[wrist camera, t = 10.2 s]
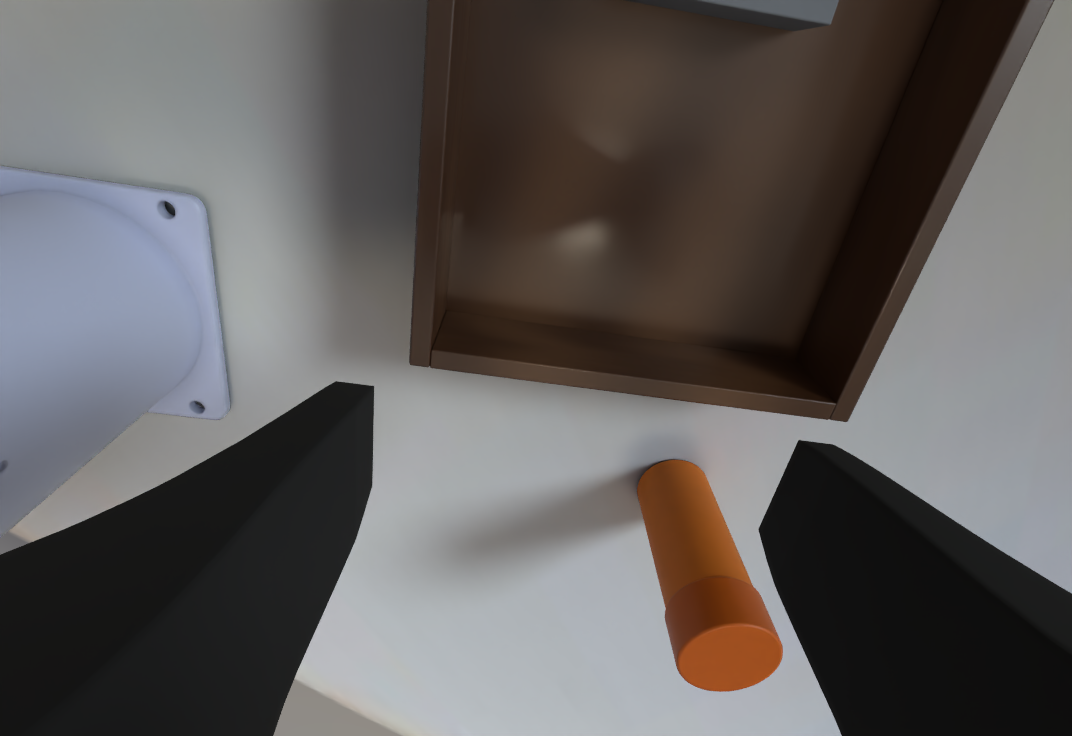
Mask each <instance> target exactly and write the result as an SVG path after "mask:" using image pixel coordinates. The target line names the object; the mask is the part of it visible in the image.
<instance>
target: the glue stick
mask: <svg viewBox="0 0 1072 736" xmlns="http://www.w3.org/2000/svg"><path fill="white" fill-rule="evenodd" d="M637 494H638V499H639V503H640V507H641V511H642V515H643V519H644V523H645V527H646V531H647V535H648V539H649V543H650V547H651V551H652V555H653V559H654V563H655V567H656V571H657V575H658V579H659V583H660V587H661V591H662V595H663V599H664V603H665V607H666V611H665V621H666V625H667V629H668V633H669V637H670V642H671V646H672V650H673V654H674V658H675V662H676V666H677V669H678V671H679V673H680V675H681V676H682V677H683V678H684V679H685V680H686V681H687V682H688V683H690V684H691V685H693V686H695V687H698V688H701V689H704V690H709V691H720V692H721V691H734V690H740V689H743V688H747V687H750V686H753V685H755V684H757V683H759V682H761V681H763V680H764V679H766V678H767V677H769V676H770V675H771V674H772V673H773V672H774V671H775V670H776V669H777V667H778V666H779V664H780V662H781V659H782V654H783V648H782V644H781V641H780V639H779V636H778V634H777V632H776V630H775V627H774V625H773V623H772V620H771V618H770V616H769V614H768V611H767V609H766V607H765V604H764V602H763V600H762V598H761V595H760V594H759V592H758V591H757V590H756V589H755V588H754V587H753V585H752V583H751V581H750V578H749V576H748V574H747V571H746V569H745V567H744V564H743V562H742V560H741V557H740V555H739V553H738V550H737V548H736V546H735V543H734V541H733V539H732V536H731V534H730V532H729V529H728V527H727V525H726V522H725V520H724V518H723V515H722V513H721V511H720V508H719V506H718V504H717V501H716V499H715V497H714V494H713V492H712V490H711V488H710V485H709V483H708V481H707V478H706V476H705V474H704V472H703V471H702V470H701V469H700V468H699V467H698V466H696V465H694V464H693V463H690V462H688V461H683V460H668V461H664V462H661V463H658V464H656V465H654V466H652V467H651V468H650V469H648V470H647V471H646V472H645V473H644V474H643V476H642V477H641V479H640V481H639V483H638V487H637Z"/></svg>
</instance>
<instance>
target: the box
mask: <svg viewBox="0 0 1072 736" xmlns="http://www.w3.org/2000/svg"><path fill="white" fill-rule="evenodd" d="M1053 2H1054V0H839V1H838V4H837V7H836V10H835V13H834V16H833V19H832V22H831V24H830V25H828V26H822V27H816V28H811V29H805V30H799V31H789V30H784V29H778V28H773V27H767V26H762V25H756V24H751V23H745V22H740V21H735V20H729V19H724V18H718V17H713V16H707V15H702V14H696V13H691V12H685V11H680V10H674V9H669V8H664V7H658V6H653V5H647V4H642V3H636V2H631V1H625V0H428V1H427V21H426V40H425V60H424V80H423V100H422V120H421V139H420V159H419V179H418V199H417V218H416V238H415V258H414V278H413V298H412V317H411V337H410V357H409V363H410V365H415V366H422V367H429V366H430V367H431V368H435V369H443V370H451V371H458V372H466V373H474V374H481V375H489V376H497V377H504V378H512V379H520V380H527V381H535V382H543V383H550V384H558V385H566V386H573V387H581V388H589V389H596V390H604V391H612V392H619V393H627V394H635V395H642V396H650V397H658V398H665V399H673V400H681V401H688V402H696V403H704V404H711V405H719V406H727V407H734V408H742V409H750V410H757V411H765V412H772V413H780V414H788V415H795V416H803V417H811V418H818V419H826V420H828V419H830V420H835V421H843V422H847V421H848V420H849V418H850V416H851V414H852V412H853V410H854V408H855V406H856V404H857V402H858V399H859V397H860V395H861V393H862V391H863V389H864V387H865V385H866V383H867V381H868V379H869V377H870V375H871V373H872V371H873V369H874V367H875V365H876V363H877V361H878V359H879V357H880V355H881V353H882V351H883V349H884V346H885V344H886V342H887V340H888V338H889V336H890V334H891V332H892V330H893V328H894V326H895V324H896V322H897V320H898V318H899V316H900V314H901V312H902V310H903V308H904V306H905V304H906V302H907V300H908V298H909V296H910V293H911V291H912V289H913V287H914V285H915V283H916V281H917V279H918V277H919V275H920V273H921V271H922V269H923V267H924V265H925V263H926V261H927V259H928V257H929V255H930V253H931V251H932V249H933V247H934V245H935V242H936V240H937V238H938V236H939V234H940V232H941V230H942V228H943V226H944V224H945V222H946V220H947V218H948V216H949V214H950V212H951V210H952V208H953V206H954V204H955V202H956V200H957V198H958V196H959V194H960V192H961V189H962V187H963V185H964V183H965V181H966V179H967V177H968V175H969V173H970V171H971V169H972V167H973V165H974V163H975V161H976V159H977V157H978V155H979V153H980V151H981V149H982V147H983V145H984V143H985V141H986V139H987V136H988V134H989V132H990V130H991V128H992V126H993V124H994V122H995V120H996V118H997V116H998V114H999V112H1000V110H1001V108H1002V106H1003V104H1004V102H1005V100H1006V98H1007V96H1008V94H1009V92H1010V90H1011V88H1012V85H1013V83H1014V81H1015V79H1016V77H1017V75H1018V73H1019V71H1020V69H1021V67H1022V65H1023V63H1024V61H1025V59H1026V57H1027V55H1028V53H1029V51H1030V49H1031V47H1032V45H1033V43H1034V41H1035V39H1036V37H1037V35H1038V32H1039V30H1040V28H1041V26H1042V24H1043V22H1044V20H1045V18H1046V16H1047V14H1048V12H1049V10H1050V8H1051V6H1052V4H1053Z"/></svg>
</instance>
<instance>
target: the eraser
mask: <svg viewBox="0 0 1072 736" xmlns="http://www.w3.org/2000/svg"><path fill="white" fill-rule="evenodd" d="M625 1H631V2H636V3H642V4H647V5H653V6H658V7H664V8H669V9H674V10H680V11H685V12H691V13H696V14H702V15H707V16H713V17H718V18H724V19H729V20H735V21H740V22H745V23H751V24H756V25H762V26H767V27H773V28H778V29H784V30H789V31H799V30H805V29H811V28H816V27H822V26H828V25H830V24H831V22H832V19H833V16H834V13H835V10H836V7H837V4H838V1H839V0H625Z"/></svg>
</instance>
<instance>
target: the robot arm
mask: <svg viewBox="0 0 1072 736" xmlns="http://www.w3.org/2000/svg"><path fill="white" fill-rule="evenodd" d="M165 202H169V203H170V204H171V205H172V206H173V207H174V209H175V211H176V213H175V216H174V215H171V214H170V213H169V212H168V211H167V210H166V208H165ZM196 401H198V402H200V403H201V404H203V405H204V408H203V407H200V406H199V405H197V403H196ZM230 406H231V405H230V397H229V389H228V381H227V373H226V364H225V356H224V348H223V340H222V332H221V324H220V316H219V307H218V299H217V291H216V283H215V275H214V267H213V258H212V250H211V242H210V234H209V226H208V218H207V211H206V208H205V206H204V204H203V203H202V202H201V200H200V199H198V198H197V197H196V196H194V195H191V194H188V193H181V192H175V191H168V190H161V189H154V188H148V187H141V186H134V185H127V184H121V183H114V182H107V181H101V180H94V179H87V178H80V177H74V176H67V175H60V174H53V173H47V172H40V171H33V170H26V169H20V168H13V167H6V166H0V538H1V537H2V536H3V535H4V534H5V533H7V532H8V531H9V530H10V529H11V528H12V527H14V526H15V525H16V524H17V523H18V522H19V521H21V520H22V519H23V518H24V517H25V516H26V515H27V514H29V513H30V512H31V511H32V510H33V509H34V508H36V507H37V506H38V505H39V504H40V503H41V502H42V501H44V500H45V499H46V498H47V497H48V496H49V495H51V494H52V493H53V492H54V491H55V490H56V489H58V488H59V487H60V486H61V485H62V484H63V483H64V482H66V481H67V480H68V479H69V478H70V477H71V476H73V475H74V474H75V473H76V472H77V471H78V470H80V469H81V468H82V467H83V466H84V465H85V464H86V463H88V462H89V461H90V460H91V459H92V458H93V457H95V456H96V455H97V454H98V453H99V452H100V451H101V450H103V449H104V448H105V447H106V446H107V445H108V444H110V443H111V442H112V441H113V440H114V439H115V438H117V437H118V436H119V435H120V434H121V433H122V432H123V431H125V430H126V429H127V428H128V427H129V426H130V425H132V424H133V423H134V422H135V421H136V420H137V419H139V418H140V417H141V416H142V415H143V414H144V413H145V412H151V413H160V414H168V415H176V416H185V417H193V418H201V419H210V420H220V419H222V418H224V417H225V416H226V414H227V413H228V412H229V411H230ZM373 415H374V386H368V385H361V384H353V383H345V382H337V381H336V382H334V383H332V384H331V385H329V386H327V387H325V388H324V389H322V390H321V391H319V392H317V393H316V394H314V395H313V396H311V397H310V398H308V399H306V400H305V401H303V402H302V403H300V404H299V405H297V406H296V407H294V408H292V409H291V410H289V411H288V412H286V413H285V414H283V415H281V416H280V417H278V418H277V419H275V420H273V421H272V422H270V423H269V424H267V425H265V426H264V427H262V428H260V429H259V430H257V431H256V432H254V433H252V434H251V435H249V436H248V437H246V438H244V439H243V440H241V441H239V442H238V443H236V444H234V445H232V446H230V447H229V448H227V449H225V450H223V451H221V452H220V453H218V454H216V455H214V456H212V457H211V458H209V459H207V460H205V461H203V462H202V463H200V464H198V465H196V466H194V467H193V468H191V469H189V470H187V471H185V472H184V473H182V474H180V475H178V476H177V477H175V478H173V479H171V480H169V481H167V482H165V483H163V484H161V485H159V486H157V487H155V488H153V489H151V490H149V491H147V492H145V493H143V494H141V495H139V496H137V497H135V498H133V499H131V500H128V501H126V502H124V503H122V504H120V505H117V506H115V507H113V508H111V509H109V510H107V511H104V512H102V513H100V514H98V515H96V516H93V517H91V518H89V519H87V520H85V521H82V522H80V523H78V524H76V525H73V526H71V527H69V528H66V529H64V530H61V531H59V532H56V533H54V534H51V535H49V536H46V537H44V538H41V539H39V540H36V541H34V542H31V543H29V544H26V545H24V546H21V547H19V548H16V549H14V550H11V551H8V552H6V553H4V554H1V555H0V736H273V735H274V732H275V729H276V726H277V722H278V720H279V717H280V714H281V711H282V708H283V706H284V703H285V700H286V698H287V695H288V693H289V690H290V688H291V685H292V683H293V680H294V678H295V675H296V673H297V670H298V668H299V666H300V664H301V661H302V659H303V657H304V655H305V653H306V650H307V648H308V646H309V644H310V641H311V639H312V637H313V635H314V632H315V630H316V628H317V626H318V624H319V621H320V619H321V617H322V615H323V612H324V610H325V608H326V606H327V603H328V601H329V599H330V597H331V595H332V592H333V590H334V588H335V586H336V583H337V581H338V579H339V577H340V574H341V572H342V570H343V568H344V565H345V563H346V561H347V558H348V556H349V554H350V552H351V549H352V547H353V545H354V542H355V540H356V537H357V534H358V531H359V528H360V524H361V521H362V518H363V515H364V512H365V508H366V505H367V501H368V498H369V495H370V491H371V488H372V471H373ZM759 533H760V537H761V540H762V544H763V548H764V551H765V555H766V559H767V562H768V565H769V568H770V572H771V575H772V578H773V581H774V584H775V587H776V589H777V591H778V594H779V596H780V598H781V601H782V603H783V605H784V607H785V610H786V612H787V614H788V616H789V619H790V621H791V623H792V625H793V628H794V630H795V632H796V634H797V637H798V639H799V641H800V643H801V645H802V648H803V650H804V652H805V654H806V656H807V658H808V661H809V663H810V665H811V667H812V669H813V672H814V674H815V676H816V678H817V680H818V683H819V685H820V687H821V689H822V691H823V694H824V696H825V698H826V700H827V702H828V705H829V707H830V709H831V711H832V713H833V716H834V718H835V720H836V723H837V725H838V727H839V730H840V732H841V735H842V736H1072V593H1070V592H1068V591H1066V590H1065V589H1063V588H1061V587H1059V586H1058V585H1056V584H1054V583H1053V582H1051V581H1049V580H1048V579H1046V578H1045V577H1043V576H1041V575H1040V574H1038V573H1036V572H1035V571H1033V570H1031V569H1030V568H1028V567H1027V566H1025V565H1023V564H1022V563H1020V562H1018V561H1017V560H1015V559H1013V558H1012V557H1010V556H1009V555H1007V554H1005V553H1004V552H1002V551H1000V550H999V549H997V548H996V547H994V546H993V545H991V544H989V543H988V542H986V541H985V540H983V539H982V538H980V537H978V536H977V535H975V534H974V533H972V532H971V531H969V530H968V529H966V528H965V527H963V526H961V525H960V524H958V523H957V522H955V521H954V520H952V519H951V518H949V517H948V516H946V515H945V514H943V513H942V512H940V511H939V510H937V509H936V508H934V507H933V506H931V505H930V504H928V503H926V502H925V501H923V500H922V499H920V498H919V497H917V496H916V495H914V494H913V493H911V492H910V491H908V490H907V489H905V488H904V487H902V486H901V485H899V484H898V483H896V482H895V481H893V480H892V479H890V478H889V477H887V476H885V475H884V474H882V473H881V472H879V471H878V470H876V469H874V468H873V467H871V466H870V465H868V464H866V463H865V462H863V461H862V460H860V459H858V458H857V457H855V456H853V455H851V454H850V453H848V452H846V451H844V450H842V449H840V448H838V447H837V446H835V445H832V444H824V443H817V442H809V441H801V440H799V441H798V443H797V445H796V447H795V449H794V452H793V454H792V456H791V458H790V461H789V463H788V465H787V467H786V469H785V472H784V474H783V476H782V478H781V481H780V483H779V485H778V487H777V489H776V492H775V494H774V496H773V498H772V501H771V503H770V505H769V507H768V509H767V512H766V514H765V516H764V518H763V521H762V523H761V525H760V527H759Z"/></svg>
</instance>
